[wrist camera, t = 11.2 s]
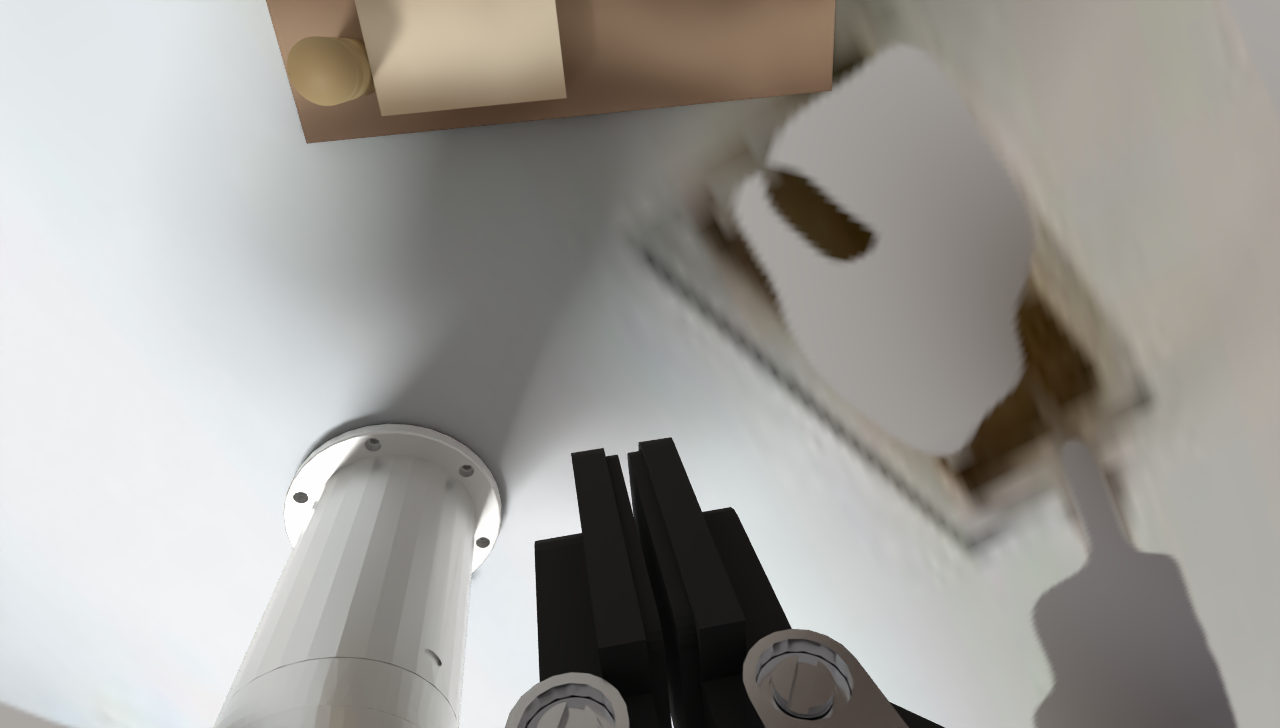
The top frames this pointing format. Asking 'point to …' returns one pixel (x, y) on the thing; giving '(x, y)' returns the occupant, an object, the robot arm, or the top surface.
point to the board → (575, 61)
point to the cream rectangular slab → (461, 53)
